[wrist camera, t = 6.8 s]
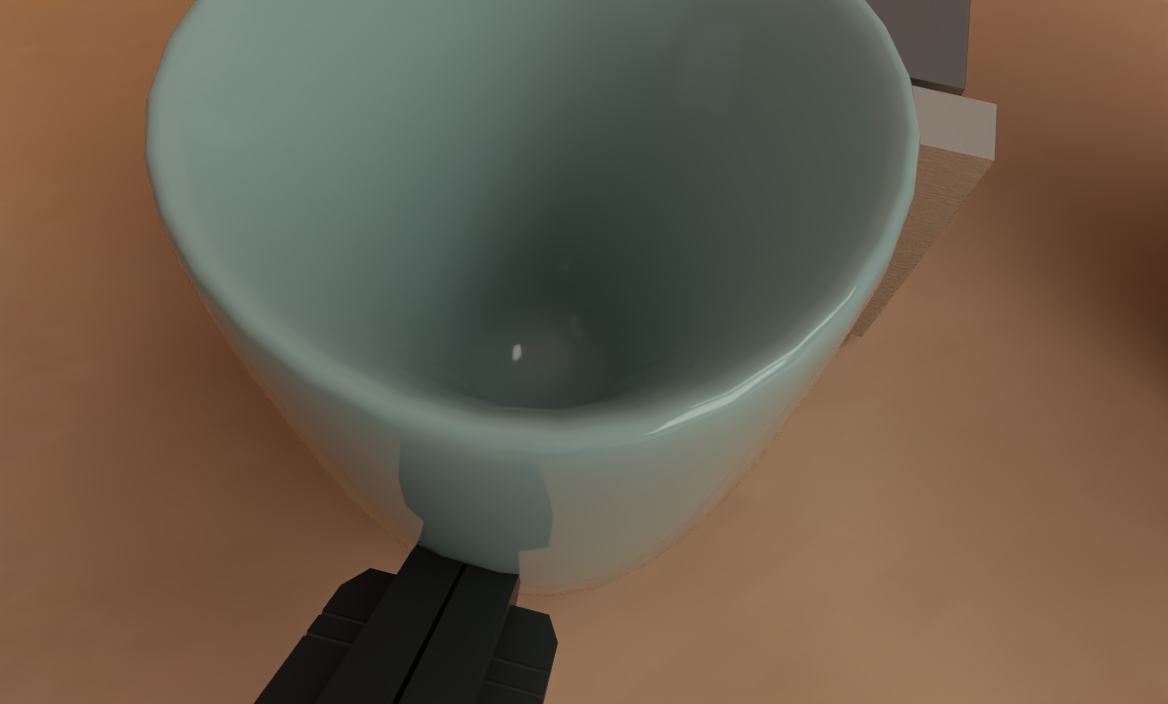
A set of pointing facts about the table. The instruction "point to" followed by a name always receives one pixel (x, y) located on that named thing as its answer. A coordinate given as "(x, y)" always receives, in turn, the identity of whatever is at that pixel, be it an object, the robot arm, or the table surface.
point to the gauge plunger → (937, 181)
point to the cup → (534, 246)
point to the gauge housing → (929, 40)
